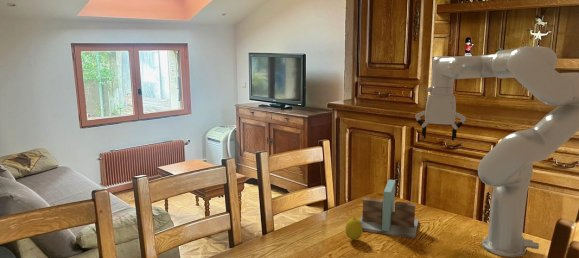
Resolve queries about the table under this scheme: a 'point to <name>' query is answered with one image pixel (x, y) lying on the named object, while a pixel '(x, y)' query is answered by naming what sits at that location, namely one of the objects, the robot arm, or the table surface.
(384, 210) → the notched plate
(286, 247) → the table surface
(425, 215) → the table surface
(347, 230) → the lemon
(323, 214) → the table surface
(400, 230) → the base
